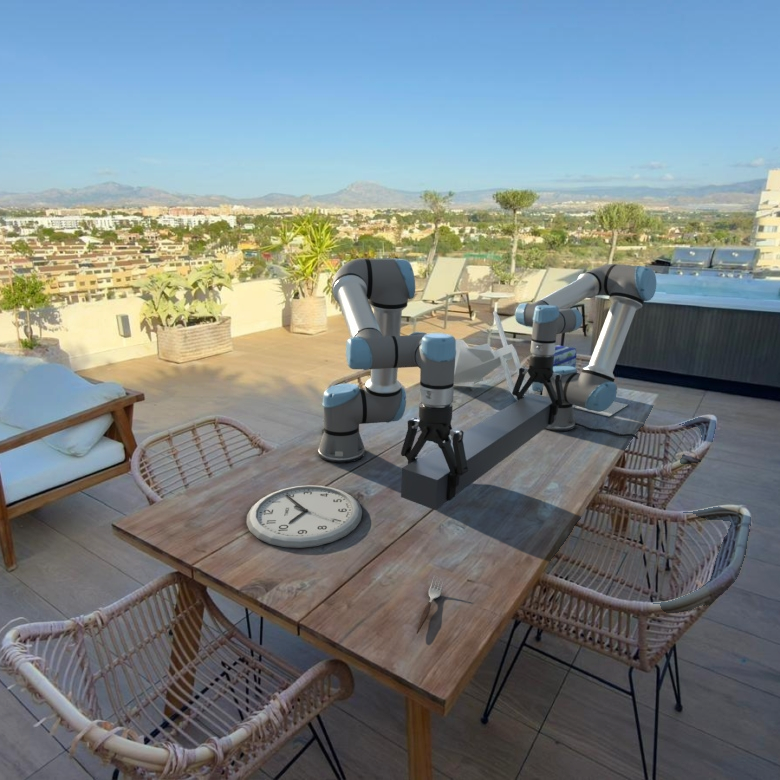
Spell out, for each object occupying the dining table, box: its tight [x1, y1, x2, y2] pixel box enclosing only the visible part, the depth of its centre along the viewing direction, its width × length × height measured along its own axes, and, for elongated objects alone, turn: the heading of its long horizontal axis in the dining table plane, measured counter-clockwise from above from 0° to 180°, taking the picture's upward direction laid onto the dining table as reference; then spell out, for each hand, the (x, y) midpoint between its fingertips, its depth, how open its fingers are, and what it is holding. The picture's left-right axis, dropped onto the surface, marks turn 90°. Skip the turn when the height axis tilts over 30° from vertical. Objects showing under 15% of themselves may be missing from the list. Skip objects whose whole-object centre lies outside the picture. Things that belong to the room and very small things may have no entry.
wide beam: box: [400, 392, 557, 511], centre depth 148 cm, size 76×10×8 cm, turn 143°
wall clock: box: [246, 484, 363, 549], centre depth 137 cm, size 30×2×30 cm
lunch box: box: [531, 345, 577, 393], centre depth 245 cm, size 26×11×21 cm, turn 134°
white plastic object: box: [454, 310, 530, 400], centre depth 245 cm, size 37×45×31 cm
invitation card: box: [573, 400, 629, 418], centre depth 226 cm, size 21×1×15 cm
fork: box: [416, 574, 445, 635], centre depth 104 cm, size 3×16×2 cm, turn 160°
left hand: (432, 491), depth 125 cm, fingers closed on wide beam, 10 cm apart
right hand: (535, 419), depth 174 cm, fingers closed on wide beam, 10 cm apart
